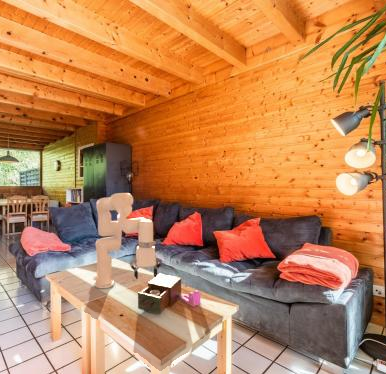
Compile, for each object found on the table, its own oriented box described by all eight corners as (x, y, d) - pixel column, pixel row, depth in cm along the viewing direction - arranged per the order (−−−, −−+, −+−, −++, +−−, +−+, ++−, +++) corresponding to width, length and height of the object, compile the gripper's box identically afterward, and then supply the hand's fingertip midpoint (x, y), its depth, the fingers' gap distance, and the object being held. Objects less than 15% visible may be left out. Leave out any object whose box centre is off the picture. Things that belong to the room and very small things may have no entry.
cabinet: (170, 306, 142) (170, 287, 142) (147, 300, 149) (147, 282, 149) (181, 295, 156) (181, 278, 156) (159, 290, 163) (159, 273, 163)
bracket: (200, 303, 145) (200, 291, 145) (193, 306, 142) (193, 294, 142) (185, 295, 156) (185, 284, 156) (178, 297, 153) (178, 286, 152)
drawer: (156, 318, 128) (156, 301, 128) (133, 312, 134) (133, 295, 134) (171, 302, 145) (171, 287, 144) (150, 297, 151) (150, 282, 151)
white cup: (148, 304, 140) (148, 293, 140) (152, 300, 145) (152, 289, 145) (157, 307, 137) (157, 295, 137) (161, 302, 142) (161, 291, 142)
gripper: (160, 241, 136) (160, 273, 137) (128, 243, 133) (128, 276, 133) (163, 245, 129) (163, 278, 130) (129, 247, 125) (130, 281, 126)
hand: (145, 277), depth 131 cm, fingers open, 9 cm apart
